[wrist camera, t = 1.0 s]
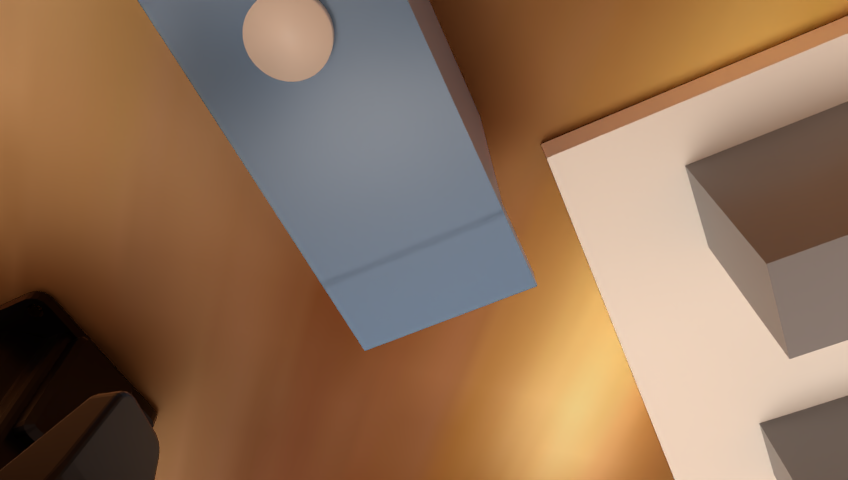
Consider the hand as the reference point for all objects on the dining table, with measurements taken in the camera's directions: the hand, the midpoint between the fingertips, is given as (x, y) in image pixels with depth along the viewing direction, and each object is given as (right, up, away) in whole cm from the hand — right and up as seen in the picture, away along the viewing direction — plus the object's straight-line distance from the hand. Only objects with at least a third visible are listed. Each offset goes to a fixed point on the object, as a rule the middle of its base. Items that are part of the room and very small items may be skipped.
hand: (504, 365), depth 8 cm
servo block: (-3, +7, +11) cm, 13 cm away
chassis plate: (+12, 0, +15) cm, 20 cm away
